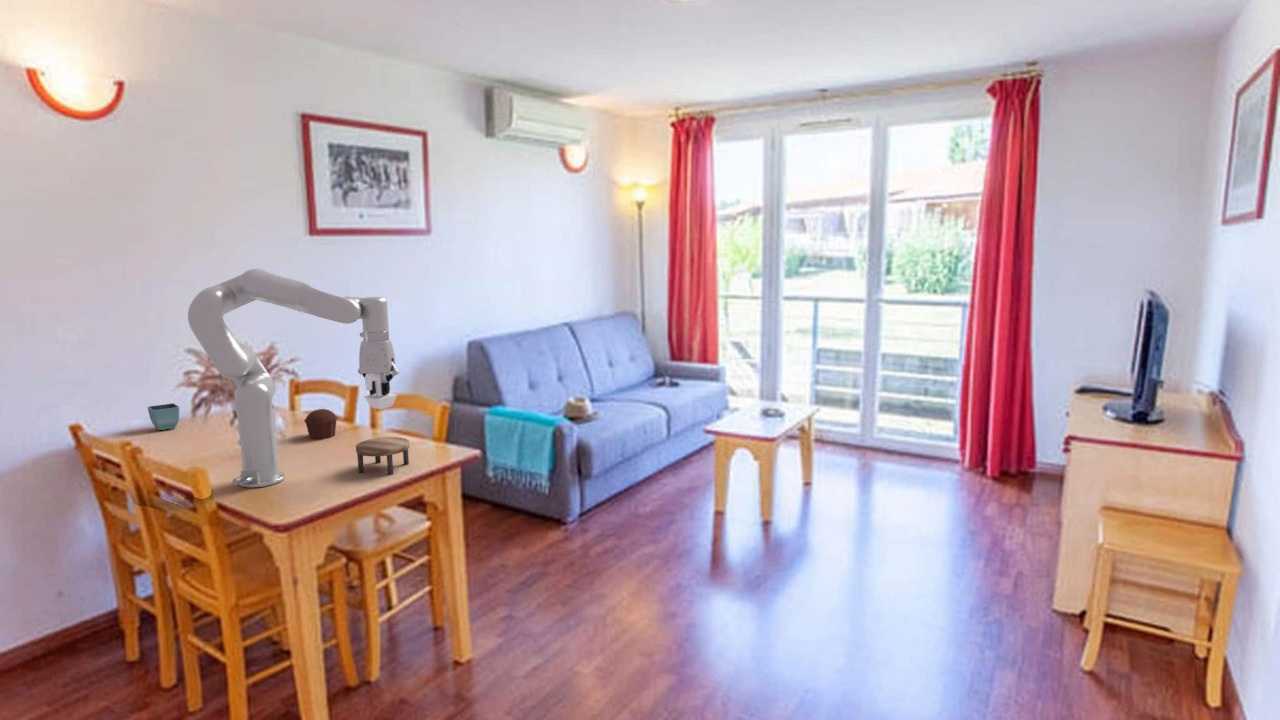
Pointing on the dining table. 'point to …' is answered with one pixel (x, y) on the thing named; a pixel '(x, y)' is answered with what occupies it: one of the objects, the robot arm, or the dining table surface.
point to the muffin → (321, 424)
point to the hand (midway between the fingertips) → (379, 393)
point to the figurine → (378, 392)
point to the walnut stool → (382, 450)
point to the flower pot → (164, 416)
